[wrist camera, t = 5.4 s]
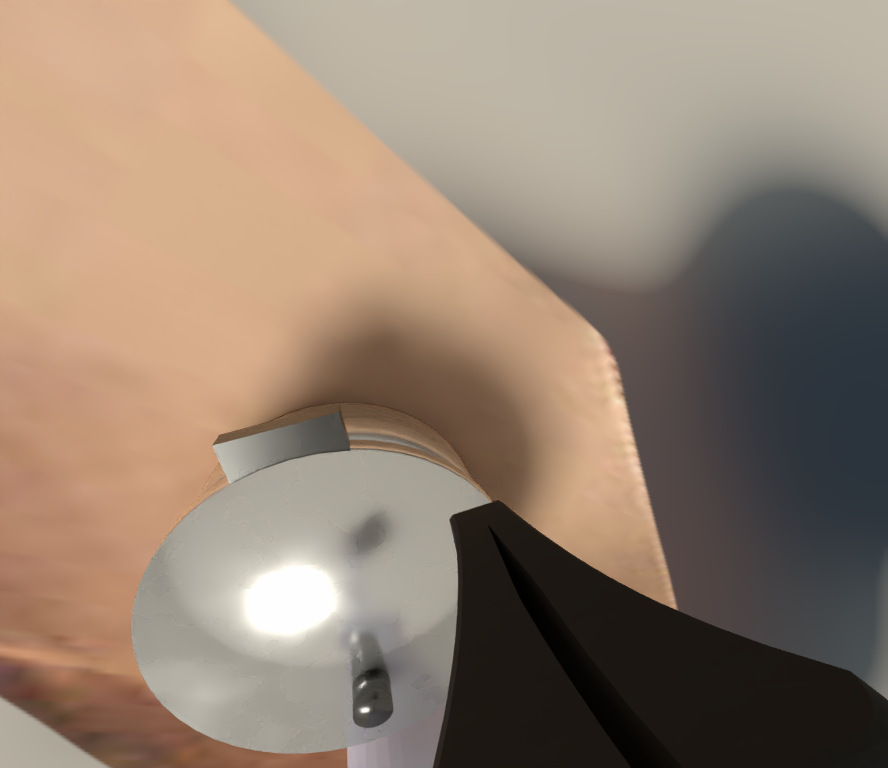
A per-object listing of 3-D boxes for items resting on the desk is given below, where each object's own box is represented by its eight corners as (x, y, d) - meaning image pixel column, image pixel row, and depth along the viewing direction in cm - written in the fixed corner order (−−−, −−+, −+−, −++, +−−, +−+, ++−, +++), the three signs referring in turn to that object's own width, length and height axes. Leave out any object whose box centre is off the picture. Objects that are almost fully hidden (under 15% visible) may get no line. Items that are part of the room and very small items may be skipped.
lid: (528, 657, 21) (549, 701, 19) (229, 772, 18) (216, 838, 16) (480, 365, 15) (502, 384, 13) (45, 479, 13) (-10, 522, 11)
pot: (492, 594, 25) (522, 662, 21) (259, 677, 23) (241, 771, 19) (449, 370, 20) (477, 402, 16) (142, 450, 18) (82, 511, 14)
